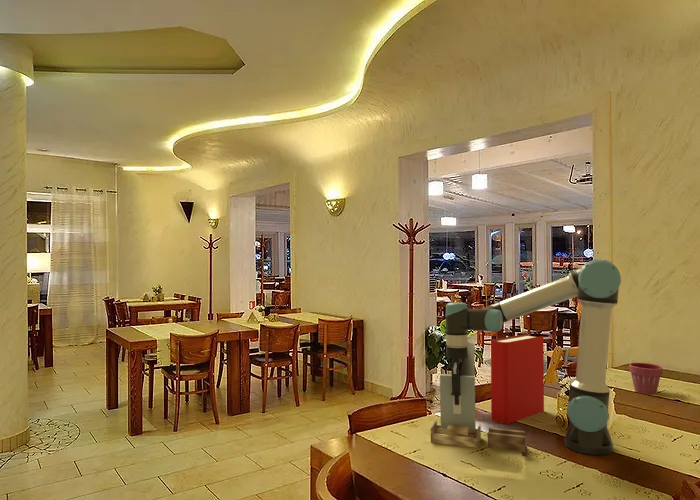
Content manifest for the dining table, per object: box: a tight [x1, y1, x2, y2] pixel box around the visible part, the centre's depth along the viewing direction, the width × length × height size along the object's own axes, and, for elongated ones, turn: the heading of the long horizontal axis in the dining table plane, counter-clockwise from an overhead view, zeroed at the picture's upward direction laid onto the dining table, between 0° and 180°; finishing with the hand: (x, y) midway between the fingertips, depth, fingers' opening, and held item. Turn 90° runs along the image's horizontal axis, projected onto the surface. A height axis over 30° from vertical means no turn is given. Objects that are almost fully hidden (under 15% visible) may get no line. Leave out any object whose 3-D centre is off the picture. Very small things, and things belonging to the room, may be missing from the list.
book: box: [490, 333, 545, 425], centre depth 215 cm, size 27×8×32 cm, turn 129°
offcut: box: [447, 425, 469, 437], centre depth 180 cm, size 7×4×2 cm, turn 71°
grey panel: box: [439, 373, 477, 432], centre depth 185 cm, size 12×2×20 cm, turn 71°
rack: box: [430, 418, 482, 449], centre depth 182 cm, size 16×10×6 cm, turn 71°
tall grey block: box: [461, 338, 476, 376], centre depth 220 cm, size 14×6×30 cm, turn 168°
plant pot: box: [628, 362, 663, 395], centre depth 252 cm, size 14×14×13 cm
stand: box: [487, 427, 528, 457], centre depth 176 cm, size 13×8×6 cm, turn 71°
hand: (457, 412), depth 185 cm, fingers closed on grey panel, 2 cm apart
